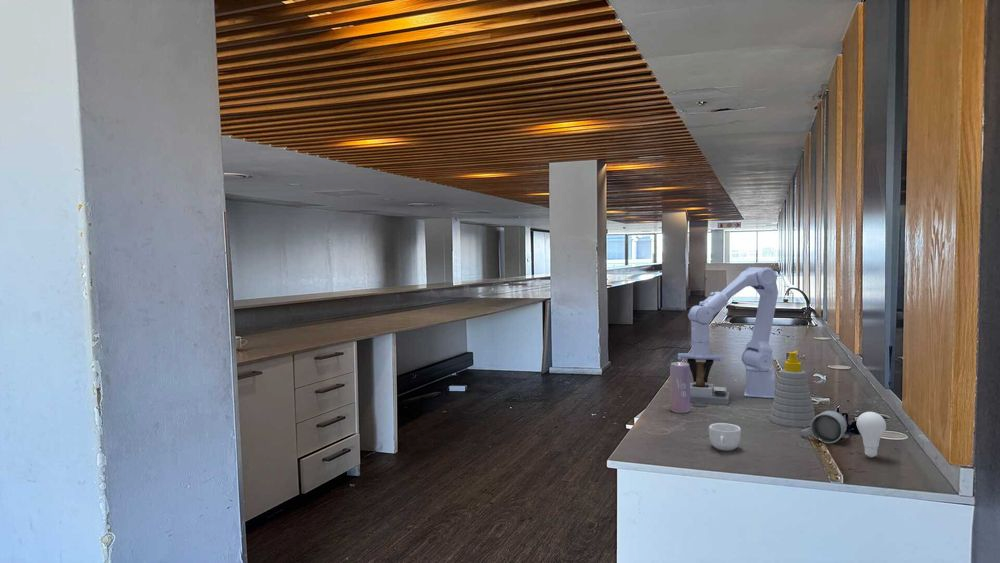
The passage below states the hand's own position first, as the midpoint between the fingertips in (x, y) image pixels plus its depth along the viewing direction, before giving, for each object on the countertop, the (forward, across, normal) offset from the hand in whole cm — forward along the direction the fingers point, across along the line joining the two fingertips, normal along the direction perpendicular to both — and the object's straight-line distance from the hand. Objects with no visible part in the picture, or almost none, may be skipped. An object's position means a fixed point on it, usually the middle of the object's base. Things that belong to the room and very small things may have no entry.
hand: (700, 381), depth 212 cm
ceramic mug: (+6, +34, -36) cm, 50 cm away
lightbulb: (+6, +44, -48) cm, 65 cm away
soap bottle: (+6, +28, -20) cm, 35 cm away
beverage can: (+6, -4, -18) cm, 20 cm away
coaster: (+6, 0, -9) cm, 11 cm away
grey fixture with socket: (+6, +2, 0) cm, 6 cm away
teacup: (+6, +10, -53) cm, 54 cm away
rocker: (+3, +6, 0) cm, 7 cm away
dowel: (+2, 0, 0) cm, 3 cm away
